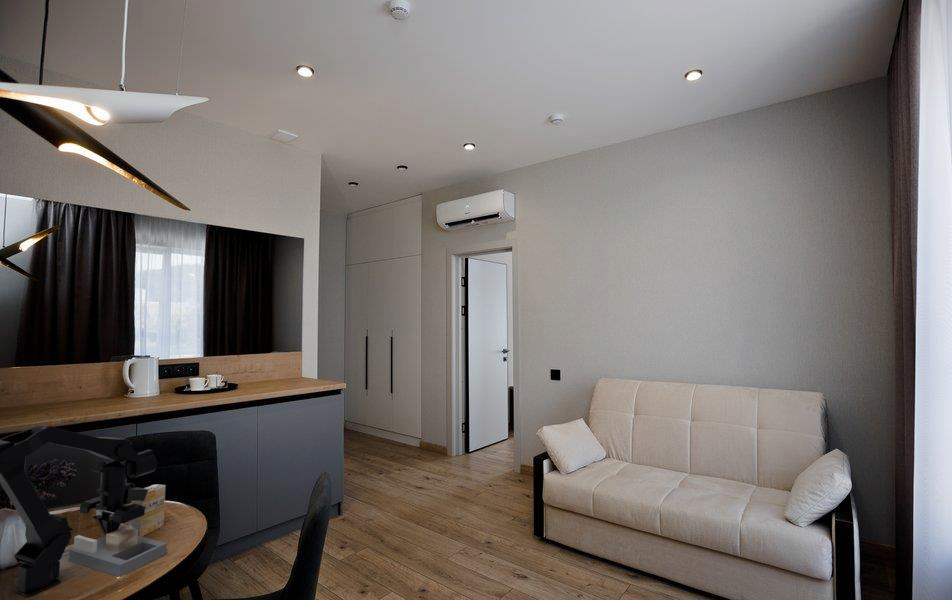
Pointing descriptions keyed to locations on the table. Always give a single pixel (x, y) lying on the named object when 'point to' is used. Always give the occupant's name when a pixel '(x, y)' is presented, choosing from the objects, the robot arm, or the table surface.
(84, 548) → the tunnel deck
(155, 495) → the supplement box
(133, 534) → the birch block
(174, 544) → the table surface
